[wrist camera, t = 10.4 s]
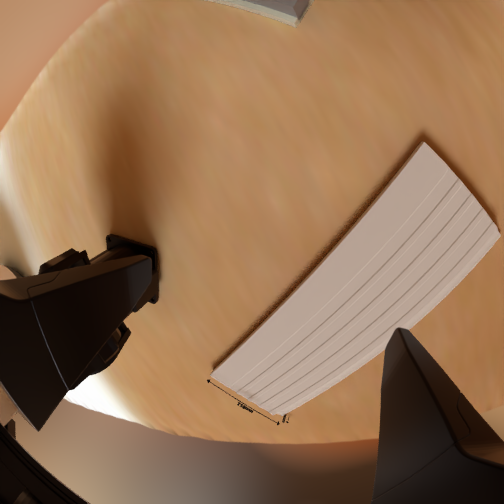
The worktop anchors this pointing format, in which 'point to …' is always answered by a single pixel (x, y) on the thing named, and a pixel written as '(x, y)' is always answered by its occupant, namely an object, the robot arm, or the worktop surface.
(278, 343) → the baseboard
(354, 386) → the worktop surface
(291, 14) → the holder
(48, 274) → the robot arm
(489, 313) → the worktop surface
